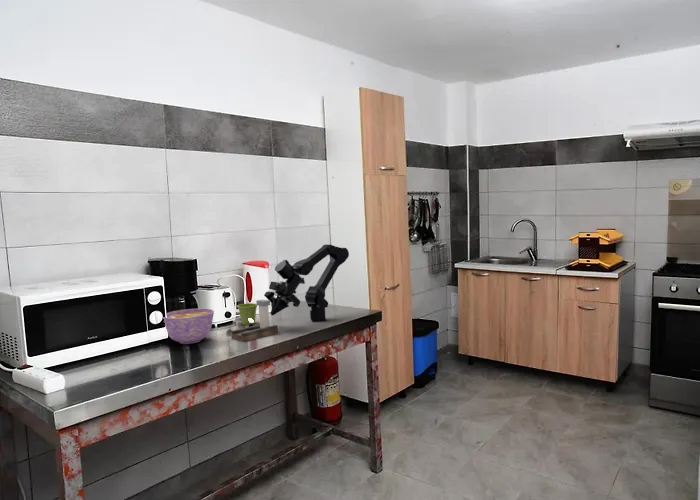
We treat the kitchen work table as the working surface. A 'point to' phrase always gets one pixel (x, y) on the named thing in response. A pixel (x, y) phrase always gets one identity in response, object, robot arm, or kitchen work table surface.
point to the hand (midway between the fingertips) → (271, 314)
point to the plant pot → (247, 312)
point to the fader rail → (253, 332)
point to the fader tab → (263, 312)
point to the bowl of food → (189, 325)
